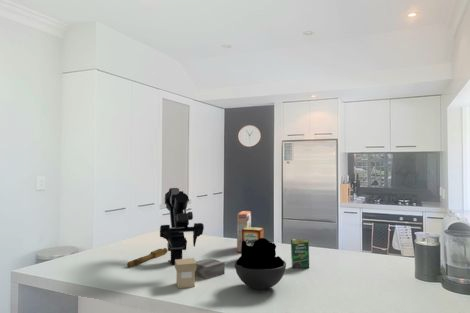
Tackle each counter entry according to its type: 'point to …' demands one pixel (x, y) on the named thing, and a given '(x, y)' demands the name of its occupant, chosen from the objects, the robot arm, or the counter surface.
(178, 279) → the box
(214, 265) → the block
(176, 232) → the robot arm
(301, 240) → the coffee box
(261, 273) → the coal bowl
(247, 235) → the baking soda box
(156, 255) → the tap handle
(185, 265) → the box lid
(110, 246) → the counter surface
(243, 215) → the cracker box
